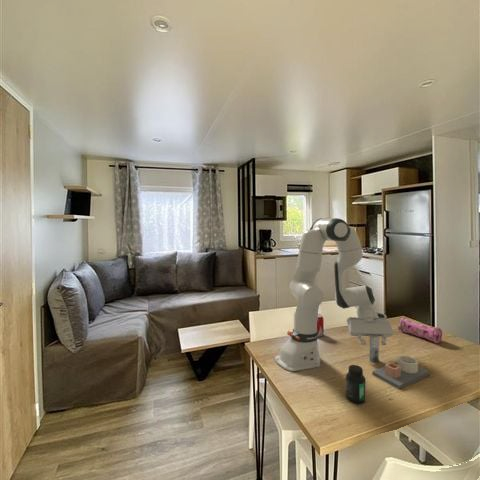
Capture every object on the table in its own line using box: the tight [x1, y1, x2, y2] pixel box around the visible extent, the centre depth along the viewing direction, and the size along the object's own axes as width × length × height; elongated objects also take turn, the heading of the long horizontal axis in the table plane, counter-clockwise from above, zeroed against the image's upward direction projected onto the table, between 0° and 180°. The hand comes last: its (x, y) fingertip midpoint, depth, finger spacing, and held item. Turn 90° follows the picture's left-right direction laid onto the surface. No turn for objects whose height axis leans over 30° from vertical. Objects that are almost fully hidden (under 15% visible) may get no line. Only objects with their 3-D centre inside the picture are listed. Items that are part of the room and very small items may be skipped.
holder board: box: [371, 355, 430, 390], centre depth 117 cm, size 21×12×6 cm, turn 117°
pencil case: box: [397, 316, 443, 344], centre depth 155 cm, size 21×9×9 cm, turn 27°
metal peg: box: [368, 335, 380, 364], centre depth 129 cm, size 4×4×12 cm
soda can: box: [317, 313, 325, 338], centre depth 160 cm, size 7×7×12 cm
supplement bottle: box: [345, 364, 367, 405], centre depth 101 cm, size 7×7×12 cm
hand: (374, 344), depth 130 cm, fingers open, 8 cm apart
